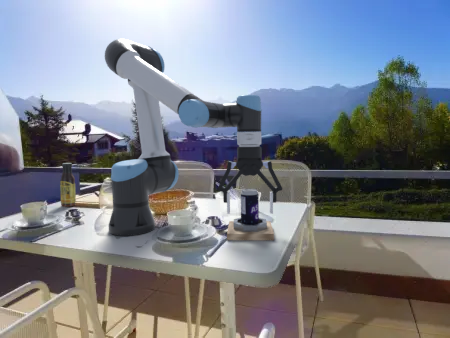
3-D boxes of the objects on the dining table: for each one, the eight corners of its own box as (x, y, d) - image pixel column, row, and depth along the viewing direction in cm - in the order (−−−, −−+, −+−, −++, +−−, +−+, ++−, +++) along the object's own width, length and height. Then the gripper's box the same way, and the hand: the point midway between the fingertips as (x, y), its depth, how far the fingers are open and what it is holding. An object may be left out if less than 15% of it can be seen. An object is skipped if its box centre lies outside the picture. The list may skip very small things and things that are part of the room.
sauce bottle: (57, 207, 148) (54, 163, 146) (68, 204, 154) (65, 162, 152) (69, 207, 146) (66, 163, 144) (79, 204, 152) (76, 162, 150)
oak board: (227, 240, 98) (227, 233, 97) (229, 226, 111) (229, 221, 111) (273, 240, 97) (273, 233, 96) (270, 227, 111) (270, 221, 110)
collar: (233, 231, 99) (233, 225, 99) (234, 222, 109) (234, 216, 109) (267, 232, 98) (267, 225, 98) (265, 222, 109) (265, 216, 108)
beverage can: (252, 230, 100) (252, 192, 99) (237, 227, 103) (236, 190, 102) (262, 226, 104) (261, 189, 103) (247, 223, 108) (246, 188, 107)
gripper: (208, 146, 98) (209, 215, 100) (291, 145, 97) (291, 215, 99) (210, 146, 106) (212, 209, 108) (288, 144, 104) (287, 209, 106)
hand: (249, 212), depth 103 cm, fingers open, 13 cm apart
